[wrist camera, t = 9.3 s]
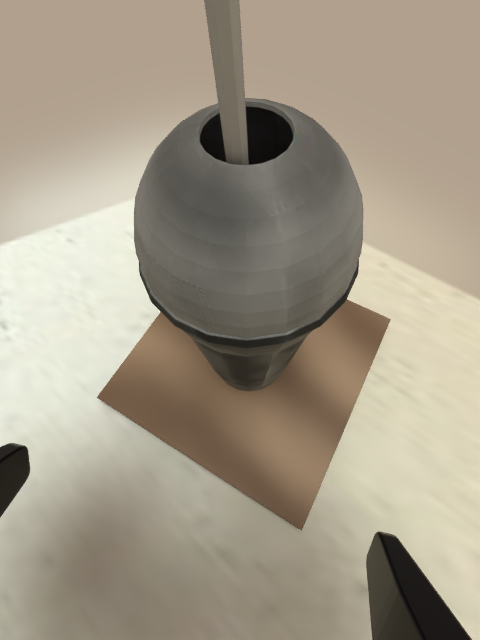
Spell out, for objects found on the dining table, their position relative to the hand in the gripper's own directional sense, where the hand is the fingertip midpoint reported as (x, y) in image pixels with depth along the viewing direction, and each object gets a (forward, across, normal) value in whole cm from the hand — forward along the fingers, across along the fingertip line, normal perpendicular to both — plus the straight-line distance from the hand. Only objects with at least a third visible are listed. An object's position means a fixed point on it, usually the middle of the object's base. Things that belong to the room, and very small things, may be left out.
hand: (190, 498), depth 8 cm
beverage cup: (+13, 0, +2) cm, 14 cm away
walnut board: (+14, 0, +3) cm, 14 cm away
